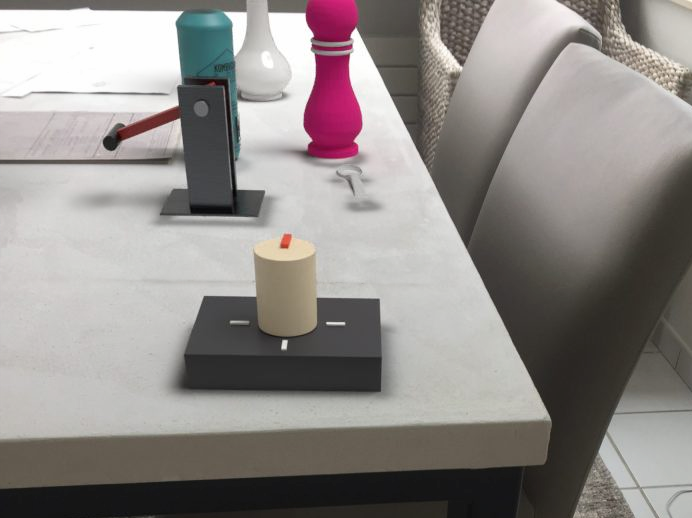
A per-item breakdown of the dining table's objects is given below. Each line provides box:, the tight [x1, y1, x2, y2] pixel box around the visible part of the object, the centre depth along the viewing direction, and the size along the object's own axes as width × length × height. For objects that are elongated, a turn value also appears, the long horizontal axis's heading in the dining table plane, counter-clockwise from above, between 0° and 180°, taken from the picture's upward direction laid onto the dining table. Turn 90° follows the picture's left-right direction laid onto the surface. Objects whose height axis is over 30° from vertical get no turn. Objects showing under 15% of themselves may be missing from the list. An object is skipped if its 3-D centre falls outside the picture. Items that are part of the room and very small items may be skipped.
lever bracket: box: [159, 76, 266, 218], centre depth 91 cm, size 10×8×13 cm
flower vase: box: [234, 0, 293, 102], centre depth 129 cm, size 13×18×25 cm
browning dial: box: [253, 233, 318, 337], centre depth 65 cm, size 4×4×6 cm
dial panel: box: [183, 295, 383, 393], centre depth 68 cm, size 14×10×3 cm
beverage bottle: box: [174, 7, 242, 159], centre depth 101 cm, size 6×7×20 cm
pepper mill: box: [302, 0, 364, 160], centre depth 105 cm, size 7×7×20 cm
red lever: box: [102, 82, 216, 152], centre depth 89 cm, size 12×5×2 cm, turn 91°
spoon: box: [336, 163, 370, 199], centre depth 101 cm, size 3×12×2 cm, turn 11°
